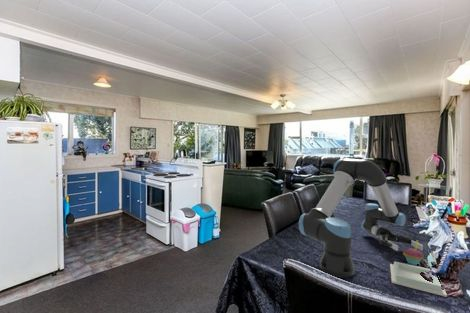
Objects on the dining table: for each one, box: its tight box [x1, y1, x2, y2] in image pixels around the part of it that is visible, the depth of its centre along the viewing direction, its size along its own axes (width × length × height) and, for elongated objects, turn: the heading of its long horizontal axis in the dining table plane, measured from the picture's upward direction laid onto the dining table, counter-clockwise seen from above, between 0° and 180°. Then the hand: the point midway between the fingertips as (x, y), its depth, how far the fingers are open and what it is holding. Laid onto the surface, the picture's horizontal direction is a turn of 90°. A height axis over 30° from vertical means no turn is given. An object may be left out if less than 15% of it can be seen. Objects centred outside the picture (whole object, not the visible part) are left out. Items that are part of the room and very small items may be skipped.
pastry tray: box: [389, 261, 448, 298], centre depth 104 cm, size 18×18×3 cm
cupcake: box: [402, 239, 425, 266], centre depth 118 cm, size 9×8×12 cm
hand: (409, 248), depth 121 cm, fingers open, 13 cm apart
